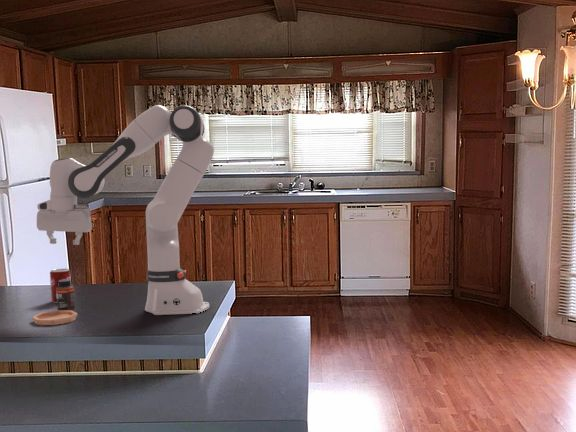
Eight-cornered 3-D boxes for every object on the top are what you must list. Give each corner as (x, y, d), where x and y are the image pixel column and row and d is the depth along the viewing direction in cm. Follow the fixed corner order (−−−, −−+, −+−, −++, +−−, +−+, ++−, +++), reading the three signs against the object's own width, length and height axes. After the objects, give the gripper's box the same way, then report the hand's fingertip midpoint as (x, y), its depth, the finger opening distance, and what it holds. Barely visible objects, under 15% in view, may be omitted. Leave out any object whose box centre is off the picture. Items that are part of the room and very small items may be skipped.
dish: (82, 315, 208) (82, 310, 208) (64, 325, 195) (64, 320, 195) (46, 315, 209) (46, 310, 209) (26, 325, 196) (25, 319, 196)
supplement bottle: (75, 309, 217) (74, 278, 216) (74, 313, 212) (73, 281, 211) (58, 310, 216) (56, 279, 215) (56, 314, 210) (54, 282, 209)
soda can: (75, 299, 234) (73, 268, 233) (66, 303, 227) (64, 271, 226) (57, 299, 235) (55, 268, 234) (47, 303, 228) (46, 271, 226)
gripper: (95, 204, 212) (95, 244, 213) (45, 203, 217) (46, 242, 219) (84, 206, 206) (85, 246, 207) (33, 204, 211) (34, 244, 213)
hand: (64, 244), depth 213 cm, fingers open, 8 cm apart
